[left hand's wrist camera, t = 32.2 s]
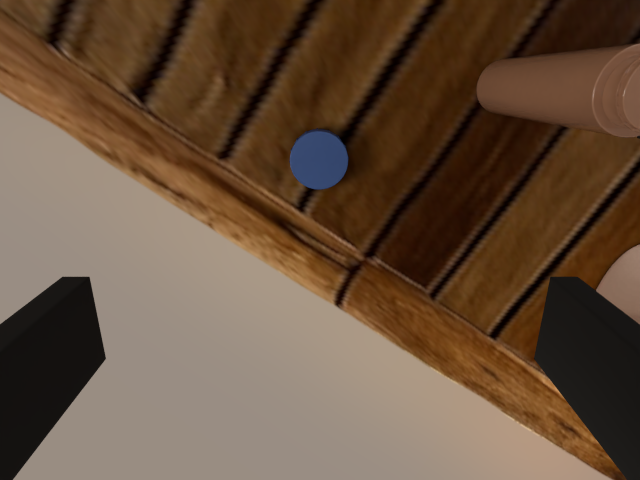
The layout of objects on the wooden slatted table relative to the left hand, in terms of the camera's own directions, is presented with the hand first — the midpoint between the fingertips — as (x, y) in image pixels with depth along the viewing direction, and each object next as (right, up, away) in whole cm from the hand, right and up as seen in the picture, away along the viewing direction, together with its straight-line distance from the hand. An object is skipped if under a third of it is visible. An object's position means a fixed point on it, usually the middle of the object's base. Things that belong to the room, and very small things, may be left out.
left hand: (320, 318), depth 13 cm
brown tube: (+16, +16, +26) cm, 35 cm away
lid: (0, +9, +27) cm, 29 cm away
